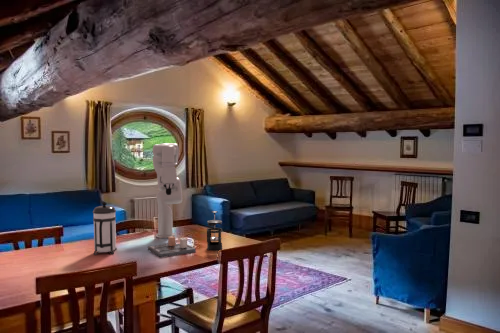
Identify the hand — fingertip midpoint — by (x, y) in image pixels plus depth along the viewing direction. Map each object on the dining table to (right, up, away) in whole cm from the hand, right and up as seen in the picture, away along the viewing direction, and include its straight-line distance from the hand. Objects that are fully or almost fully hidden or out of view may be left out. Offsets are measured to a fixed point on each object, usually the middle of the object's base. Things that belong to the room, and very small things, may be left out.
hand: (168, 194), depth 265 cm
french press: (+29, -33, -5) cm, 44 cm away
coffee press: (-34, -33, -15) cm, 50 cm away
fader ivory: (+11, -31, -11) cm, 34 cm away
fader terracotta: (+3, -30, -7) cm, 31 cm away
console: (+4, -33, -11) cm, 35 cm away
